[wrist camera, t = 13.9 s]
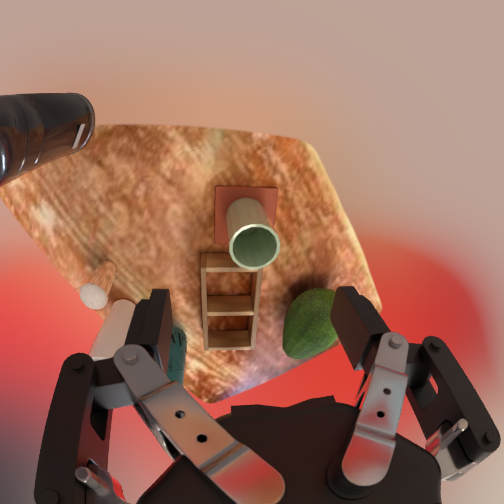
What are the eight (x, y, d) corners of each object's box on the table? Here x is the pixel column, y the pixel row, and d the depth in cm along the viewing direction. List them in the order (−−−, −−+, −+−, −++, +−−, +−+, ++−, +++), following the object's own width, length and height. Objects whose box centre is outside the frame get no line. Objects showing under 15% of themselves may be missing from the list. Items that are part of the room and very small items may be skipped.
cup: (225, 235, 44) (228, 269, 35) (226, 197, 41) (230, 223, 32) (264, 235, 45) (277, 269, 36) (267, 198, 42) (282, 224, 33)
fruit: (304, 341, 58) (318, 378, 49) (262, 332, 55) (271, 371, 46) (345, 285, 52) (367, 319, 43) (301, 269, 49) (319, 305, 40)
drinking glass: (109, 290, 47) (84, 351, 33) (145, 299, 48) (129, 364, 35) (107, 317, 49) (86, 378, 36) (141, 326, 51) (127, 389, 38)
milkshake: (104, 248, 43) (83, 282, 34) (125, 271, 45) (109, 309, 37) (88, 261, 44) (66, 296, 35) (108, 284, 46) (91, 321, 37)
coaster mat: (214, 242, 45) (214, 244, 44) (215, 186, 41) (215, 186, 40) (271, 242, 46) (272, 244, 46) (277, 187, 42) (278, 188, 42)
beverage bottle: (193, 338, 54) (191, 428, 36) (163, 345, 54) (153, 432, 36) (178, 314, 51) (170, 408, 33) (147, 322, 51) (129, 413, 33)
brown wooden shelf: (204, 333, 54) (204, 350, 50) (201, 252, 45) (200, 267, 42) (251, 332, 55) (254, 349, 51) (258, 252, 47) (263, 267, 43)
